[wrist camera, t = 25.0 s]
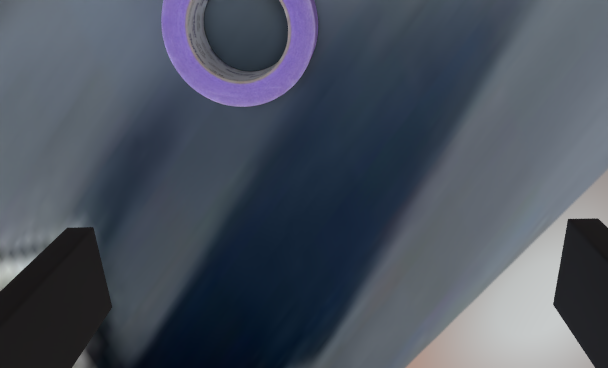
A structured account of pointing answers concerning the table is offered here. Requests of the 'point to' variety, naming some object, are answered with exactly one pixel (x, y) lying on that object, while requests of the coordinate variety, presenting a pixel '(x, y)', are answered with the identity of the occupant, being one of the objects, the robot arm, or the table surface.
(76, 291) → the robot arm
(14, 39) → the table surface
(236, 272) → the table surface
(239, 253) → the table surface
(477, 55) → the table surface
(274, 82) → the tape roll
